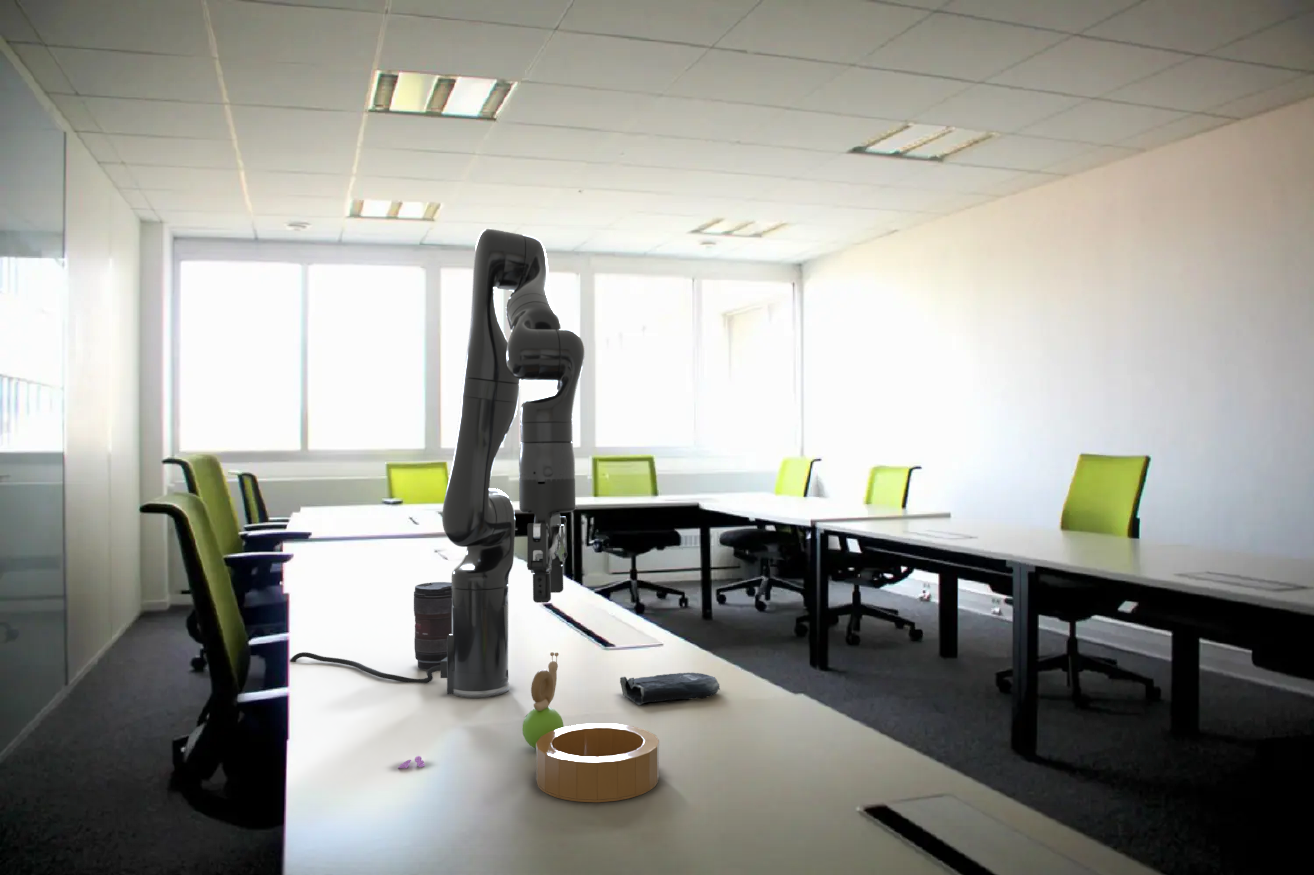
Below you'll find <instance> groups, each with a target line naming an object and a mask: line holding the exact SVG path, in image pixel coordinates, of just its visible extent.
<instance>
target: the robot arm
mask: <svg viewBox="0 0 1314 875" xmlns="http://www.w3.org/2000/svg"><path fill="white" fill-rule="evenodd" d="M472 270H473V272H472V275H473V276H472V290H471V291H472V292H471V307H470V308H471V309H470V310H471V311H470V322H469V323H470V325H469V333H468V334H469V335H468V340H467V348H466V356H465V361H464V366H463V367H464V369H463V374H462V383H461V392H460V402H459V403H460V404H459V417H458V421H457V422H458V423H457V430H456V437H455V444H454V445H455V446H454V452H453V458H452V464H451V468H450V473H449V478H448V482H447V487H446V490H445V495H444V500H443V505H442V513H441V521H442V528H443V531H444V533H445V534H444V535H446V537H447V539H448V540H449V542H451V543H452V544H454V546H457V547H462V548H466V551H465V555H464V557H463V558H462V560H461V562H460V563H459V564H458V565H457V566H456V567H454V568H453V570H452V573H451V583H452V604H451V605H452V618H451V634H449V635H448V637H447V657H446V658H444V659H443V660H441V661H440V665H439V666H434V667H431V668H430V669H429V670H426V677H424V678H412V677H407V676H402V675H397V674H392V673H386V672H382V671H379V670H376V669H374V668H372V667H368V666H366V665H364V664H362V663H361V662H357V661H354V660H349V659H344V658H338V657H330V656H323V655H319V654H315V653H312V652H307V651H306V652H305V651H303V652H298V653H296V654H294V655H293V656H292V657H291V658H290V660H289V662H296V661H297V660H298V659H301V658H309V659H313V660H316V661H319V662H325V663H332V664H333V663H334V664H341V665H346V666H350V667H353V668H357V669H359V670H360V671H363V672H365V673H367V674H371V675H373V676H375V677H377V678H381V679H385V680H392V681H396V682H402V683H412V684H429V683H430V682H432V681H433V679H434V675H433V673H436V672H440V674H439V677H440V679H446V695H452V696H457V697H461V698H470V699H471V698H472V699H473V698H475V699H477V698H478V699H479V698H489V697H495V696H499V695H502V694H505V693H507V692H508V691H509V689H510V682H509V579H510V578H509V577H510V574H511V572H512V568H513V566H514V558H515V537H516V516H515V509H514V506H513V503H512V501H511V499H510V498H509V496H508V495H507V494H506V492H503V491H502V490H500V489H498V488H497V489H496V488H490V487H491V486H490V485H491V478H492V471H493V467H494V466H493V465H494V462H495V459H496V456H497V454H498V452H499V450H500V449H501V446H502V444H503V442H504V441H505V439H506V436H507V435H508V433H509V430H510V429H511V427H512V425H513V422H514V420H515V418H516V415H517V411H518V405H519V398H520V397H519V395H520V389H521V388H520V386H521V381H525V382H556V386H555V389H554V390H553V391H552V393H551V394H549V395H546V396H542V397H541V396H540V397H537V398H532V399H528V400H525V401H524V402H522V403H521V405H520V409H519V410H520V411H519V423H520V424H519V425H520V426H519V427H520V430H519V433H520V436H519V437H520V448H519V454H518V492H519V493H518V496H519V497H518V499H519V501H518V502H519V503H518V504H519V510H520V512H521V513H524V514H525V513H526V514H534V519H533V522H529V523H527V525H526V530H527V549H526V550H527V551H526V552H527V559H526V560H527V563H526V568H527V570H528V571H530V573H531V574H532V599H533V602H534V603H535V604H538V603H540V604H543V603H549V602H550V601H551V600H552V594H553V593H554V594H557V593H558V594H560V593H562V592H563V591H564V565H565V562H566V559H567V557H568V542H567V539H568V538H567V522H568V520H567V517H566V516H561V513H570V512H574V511H575V509H576V506H577V505H576V458H575V451H574V443H573V442H574V436H573V434H574V432H573V426H574V425H573V415H574V414H573V413H574V412H573V411H574V404H575V398H576V394H577V389H578V385H579V380H580V378H581V374H582V370H583V367H584V362H585V357H586V356H585V355H586V349H585V345H584V341H583V340H582V338H581V337H580V335H579V334H578V333H577V332H576V331H574V330H571V329H562V328H561V322H560V319H559V316H558V313H557V311H556V308H555V306H554V303H553V300H552V297H551V286H550V284H551V283H550V274H549V264H548V258H547V253H546V249H545V246H544V245H543V243H542V241H541V240H539V239H538V238H536V237H534V236H531V235H526V234H520V233H516V232H511V231H504V230H499V229H493V228H485V229H484V230H482V231H481V232H480V234H479V236H478V238H477V241H476V245H475V251H474V259H473V269H472ZM495 289H498V290H505V291H512V292H511V294H510V296H509V297H508V300H507V302H506V307H505V308H506V309H505V312H506V313H505V314H506V319H507V323H508V326H509V328H510V332H511V333H510V335H509V339H507V337H506V335H505V333H504V330H503V328H502V325H501V323H500V320H499V318H498V314H497V310H496V302H495Z"/></svg>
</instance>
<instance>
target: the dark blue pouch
mask: <svg viewBox="0 0 1314 875" xmlns="http://www.w3.org/2000/svg"><path fill="white" fill-rule="evenodd" d="M619 684H620V688H621V693H622V696H624V697H626V698H628V699H629V700H631V701H632V702H633V703H634V704H636V705H638V706H642V705H643V704H645V703H653V702H665V701H672V700H695V699H706V698H710V697H712V696H714V695H716V694H717V693H718V691H721V688H720V683H719V682H718V680H717V679H716V676H712V675H709V674H705V673H699V672H678V673H668V674H667V673H666V674H657V675H654V676H653V675H652V676H641V677H636V678H634V677H630V678H628V679H627V677H626V676H621V677H620V678H619Z"/></svg>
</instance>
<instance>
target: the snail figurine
mask: <svg viewBox="0 0 1314 875" xmlns="http://www.w3.org/2000/svg"><path fill="white" fill-rule="evenodd" d="M549 656H551V661H549V663H548V666H547V669H548V670H547V669H541V670H540V669H539V670H538V671H537V672H536V673H535V675H534V676H533V678H532V681H531V685H530V686H531V687H530V695H531V698H532V700H533V701H534V703H533V709H532V710H530V711H529V712H528V713H527V715H526V716H525V717H524V719H523V723H522V727H521V728H522V729H521V730H522V735H523V738H524V740H525V742H526V743H527V744H528V745H529V746H530V747H531V748H533V749H536V742H537V741H538V740H539V738H540V737H541V736H543V735H545V734H547V733H548V732H550V731H553V730H557V729H560V728H563V727H565V725H564V720H563V718H562V716H561V714H560V713H559V712H558V711H557V710H556V709H554V708H552V707H550V704H551V703H552V701H553V700H554V696H555V692H556V687H557V679H558V678H557V675H558V674H557V672H558V667H559V665H558V656H559V653H558V652H557V651H556V652H555V653H554V652H553V651H551V652H550V654H549ZM554 656H555V657H556V658H555V659H556V660H554V659H553V657H554Z"/></svg>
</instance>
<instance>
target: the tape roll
mask: <svg viewBox="0 0 1314 875" xmlns="http://www.w3.org/2000/svg"><path fill="white" fill-rule="evenodd" d="M659 777H660V739H658V737H657V735H656V734H655V733H652V731H651V732H650V731H649V730H647V729H645V728H640V727H637V726H634V725H628V724H619V723H582V724H576V725H575V724H574V725H571V726H570V725H569V726H564V727H563V728H560V729H557V730H553V731H550V732H548V733H547V734H545V735H543V736H541V737H540V738H539V740H538V741H537V742H536V748H535V780H536V785H537V787H538V789H539V790H540V791H541V792H542V793H545V794H546V795H548V796H551V797H554V798H557V799H561V800H565V801H571V802H577V803H607V802H608V803H609V802H616V801H624V800H628V799H632V798H636V797H639V796H641V795H644V794H647V793H648V792H650V791H651V790H652V789H654V788H655V787H656V786H657V785H658V782H659Z"/></svg>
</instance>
